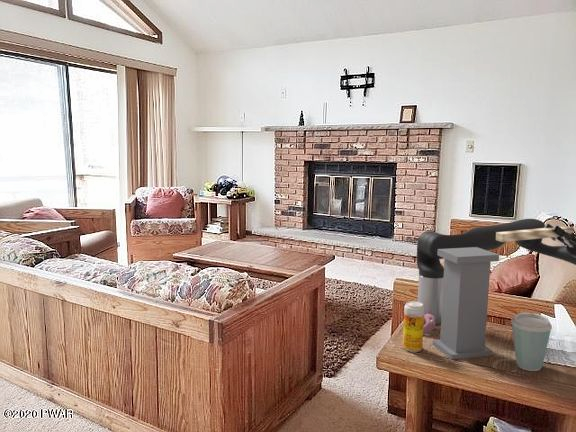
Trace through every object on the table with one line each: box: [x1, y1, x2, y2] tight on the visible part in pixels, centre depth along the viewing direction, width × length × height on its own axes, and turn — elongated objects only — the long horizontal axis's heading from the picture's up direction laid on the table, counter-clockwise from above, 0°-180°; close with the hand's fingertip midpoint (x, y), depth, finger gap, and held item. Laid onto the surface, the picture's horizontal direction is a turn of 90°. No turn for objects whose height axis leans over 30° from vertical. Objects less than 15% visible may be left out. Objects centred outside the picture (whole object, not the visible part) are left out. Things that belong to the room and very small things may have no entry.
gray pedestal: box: [432, 247, 500, 360], centre depth 145 cm, size 14×11×32 cm
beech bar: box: [496, 225, 574, 243], centre depth 147 cm, size 26×3×2 cm, turn 103°
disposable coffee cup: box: [510, 312, 553, 372], centre depth 136 cm, size 11×11×15 cm
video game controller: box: [423, 313, 437, 336], centre depth 163 cm, size 10×5×7 cm, turn 169°
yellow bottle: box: [402, 300, 425, 353], centre depth 147 cm, size 6×6×15 cm
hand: (549, 227), depth 148 cm, fingers closed on beech bar, 3 cm apart
